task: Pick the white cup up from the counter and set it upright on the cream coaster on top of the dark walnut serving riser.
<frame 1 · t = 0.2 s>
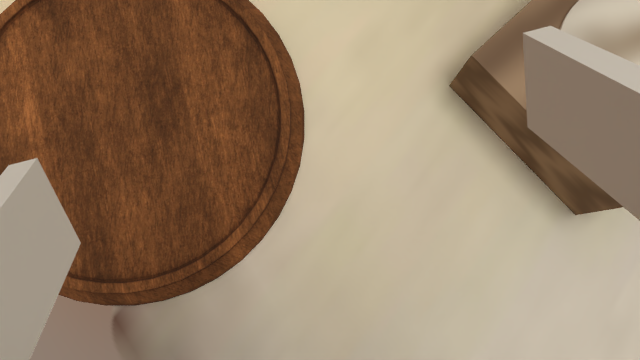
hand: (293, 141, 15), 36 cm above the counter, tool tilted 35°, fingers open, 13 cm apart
cutting board: (130, 127, 53), on the counter
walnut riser: (581, 83, 52), on the counter
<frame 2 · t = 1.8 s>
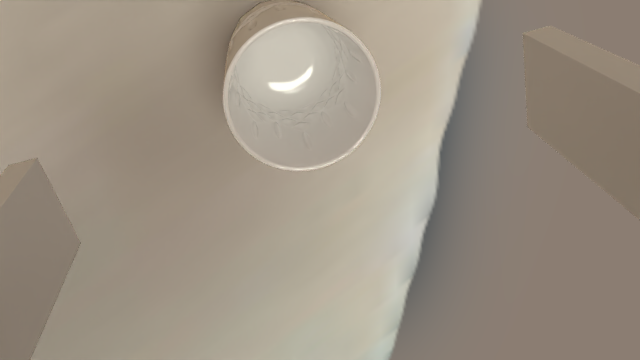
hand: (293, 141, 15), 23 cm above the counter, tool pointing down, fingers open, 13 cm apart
white cup: (281, 51, 37), on the counter
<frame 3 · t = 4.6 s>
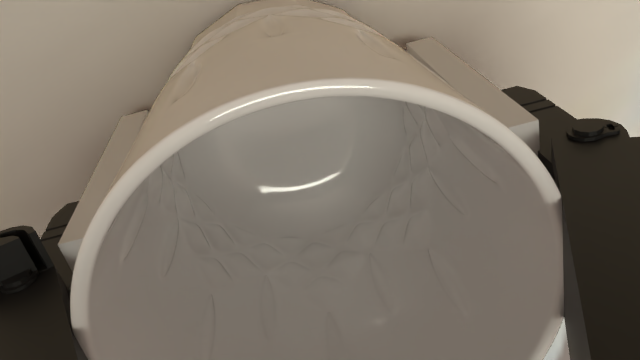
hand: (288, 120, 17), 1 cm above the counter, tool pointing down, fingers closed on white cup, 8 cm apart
white cup: (285, 104, 18), on the counter, touching gripper
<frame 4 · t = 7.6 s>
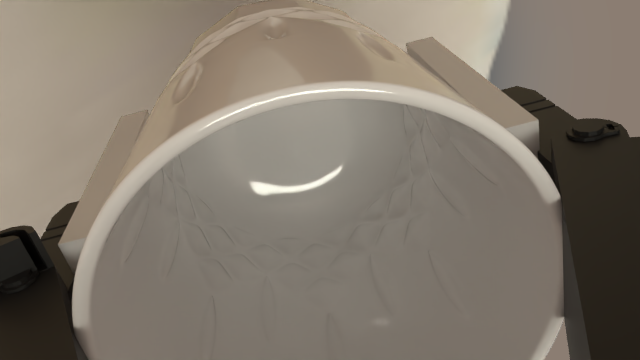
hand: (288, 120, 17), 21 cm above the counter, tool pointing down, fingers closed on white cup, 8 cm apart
white cup: (285, 105, 18), point 19 cm above the counter, touching gripper
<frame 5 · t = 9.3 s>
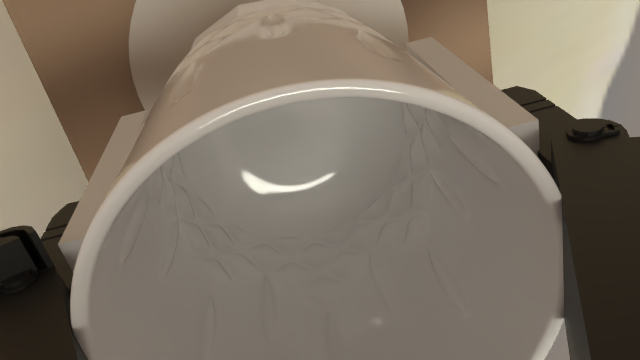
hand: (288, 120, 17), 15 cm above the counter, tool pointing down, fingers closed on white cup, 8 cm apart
white cup: (285, 104, 18), point 14 cm above the counter, touching gripper
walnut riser: (263, 17, 30), on the counter
when the fingers open (11 cm above the counter, at t = 10.4 s): white cup drops 1 cm, resting on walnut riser.
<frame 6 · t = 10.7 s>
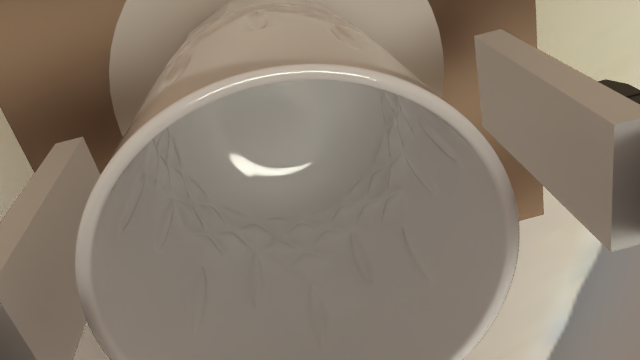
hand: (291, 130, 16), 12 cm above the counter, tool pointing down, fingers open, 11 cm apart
white cup: (274, 94, 19), point 8 cm above the counter, touching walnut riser
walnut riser: (269, 33, 27), on the counter
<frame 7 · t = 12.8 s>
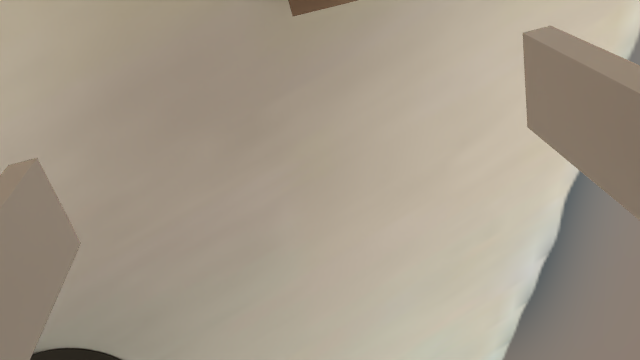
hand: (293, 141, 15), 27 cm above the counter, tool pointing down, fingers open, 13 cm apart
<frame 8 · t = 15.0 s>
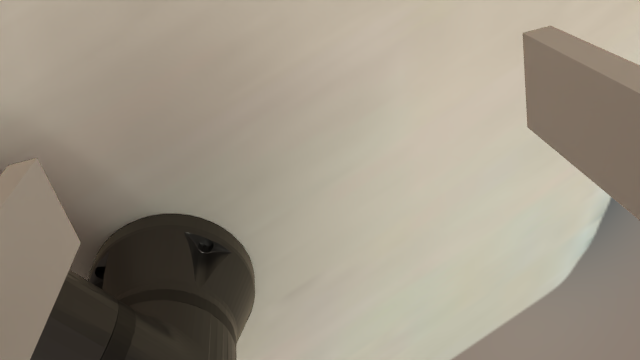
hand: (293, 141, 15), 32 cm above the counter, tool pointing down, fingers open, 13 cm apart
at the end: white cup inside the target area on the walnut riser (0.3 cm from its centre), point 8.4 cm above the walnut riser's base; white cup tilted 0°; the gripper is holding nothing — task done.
